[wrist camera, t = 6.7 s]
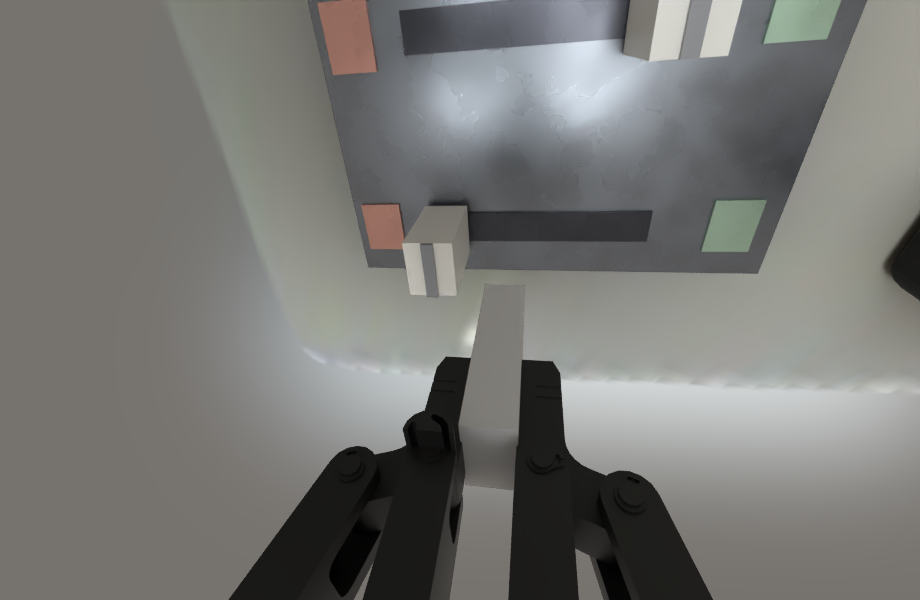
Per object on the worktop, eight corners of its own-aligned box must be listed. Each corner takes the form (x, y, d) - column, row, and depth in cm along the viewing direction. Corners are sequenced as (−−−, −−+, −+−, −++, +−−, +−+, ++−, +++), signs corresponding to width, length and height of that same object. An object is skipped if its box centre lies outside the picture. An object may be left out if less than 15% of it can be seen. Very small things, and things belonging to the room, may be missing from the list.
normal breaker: (634, -32, 16) (669, -55, 12) (701, -39, 16) (762, -65, 11) (622, 54, 18) (650, 61, 14) (682, 49, 17) (730, 56, 13)
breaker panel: (318, -31, 20) (297, -37, 18) (873, -99, 16) (917, -116, 14) (377, 253, 29) (367, 268, 27) (742, 257, 25) (759, 275, 23)
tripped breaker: (425, 206, 23) (400, 244, 19) (467, 205, 23) (451, 245, 19) (430, 251, 25) (409, 296, 21) (469, 251, 25) (456, 298, 20)
